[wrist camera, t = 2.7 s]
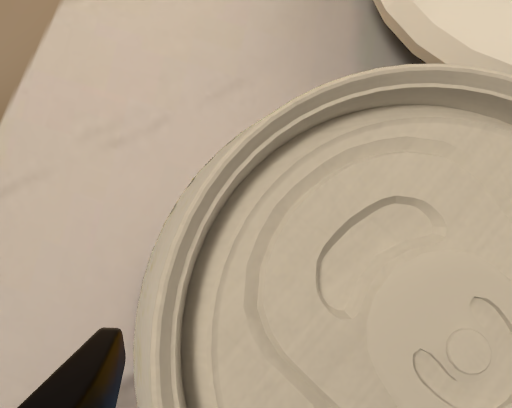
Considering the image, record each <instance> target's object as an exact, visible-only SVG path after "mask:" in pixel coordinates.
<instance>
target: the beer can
mask: <svg viewBox="0 0 512 408" xmlns="http://www.w3.org/2000/svg"><path fill="white" fill-rule="evenodd" d="M133 354H134V385H135V392H136V399H137V406H138V408H512V75H509V74H506V73H502V72H498V71H493V70H488V69H482V68H477V67H472V66H462V65H450V64H406V65H398V66H390V67H383V68H376V69H372V70H368V71H364V72H360V73H356V74H352V75H348V76H345V77H342V78H340V79H337V80H334V81H331V82H329V83H326V84H323V85H320V86H318V87H316V88H314V89H312V90H310V91H308V92H306V93H304V94H302V95H300V96H298V97H296V98H294V99H292V100H291V101H289V102H288V103H286V104H285V105H283V106H282V107H280V108H279V109H277V110H276V111H274V112H272V113H271V114H269V115H268V116H266V117H264V118H263V119H261V120H260V121H258V122H257V123H255V124H254V125H252V126H251V127H249V128H247V129H246V130H244V131H243V132H241V133H240V134H239V135H238V136H236V137H235V138H234V139H233V140H232V141H230V142H229V143H228V144H227V145H226V146H224V147H223V148H222V149H221V150H220V151H218V152H217V154H216V155H215V156H214V157H213V158H212V159H211V160H210V161H209V162H208V163H207V164H206V165H205V166H204V167H203V168H202V169H201V170H200V171H199V172H198V174H197V175H196V176H195V178H194V179H193V180H192V182H191V183H190V184H189V186H188V187H187V188H186V190H185V191H184V192H183V193H182V195H181V196H180V198H179V200H178V201H177V203H176V205H175V206H174V208H173V210H172V211H171V213H170V215H169V216H168V218H167V220H166V222H165V224H164V226H163V228H162V230H161V233H160V235H159V237H158V239H157V242H156V244H155V246H154V248H153V250H152V254H151V257H150V260H149V263H148V266H147V269H146V272H145V276H144V279H143V282H142V287H141V292H140V297H139V302H138V307H137V313H136V322H135V334H134V347H133Z"/></svg>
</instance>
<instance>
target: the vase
mask: <svg viewBox="0 0 512 408" xmlns="http://www.w3.org/2000/svg"><path fill="white" fill-rule="evenodd" d="M373 1H374V3H375V5H376V7H377V9H378V11H379V13H380V15H381V17H382V19H383V21H384V23H385V24H386V25H387V26H388V27H389V28H390V29H391V30H392V31H393V33H394V34H395V35H396V36H397V37H398V38H399V39H400V40H401V41H402V43H403V44H404V45H405V46H406V47H407V48H408V49H409V50H410V51H411V52H412V54H414V55H415V56H417V57H418V58H420V59H421V60H423V61H424V62H425V63H427V64H450V65H462V66H472V67H477V68H482V69H488V70H493V71H498V72H502V73H506V74H509V75H512V0H373Z"/></svg>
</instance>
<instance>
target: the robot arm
mask: <svg viewBox="0 0 512 408" xmlns="http://www.w3.org/2000/svg"><path fill="white" fill-rule="evenodd" d="M124 366H125V349H124V342H123V335H122V331H121V330H120V329H118V328H101V329H99V330H98V331H97V332H96V333H95V334H94V335H93V336H92V337H91V338H90V339H89V340H88V341H86V342H85V343H84V344H83V345H82V346H81V347H80V348H79V349H78V350H77V351H76V352H75V353H74V354H73V355H72V356H71V357H70V358H69V359H68V360H67V361H66V362H65V363H64V364H62V365H61V366H60V367H59V368H58V369H57V370H56V371H55V372H54V373H53V374H52V375H51V376H50V377H49V378H48V379H47V380H46V381H45V382H44V383H43V384H42V385H41V386H40V387H38V388H37V389H36V390H35V391H34V392H33V393H32V394H31V395H30V396H29V397H28V398H27V399H26V400H25V401H24V402H23V403H22V404H21V405H20V406H19V407H18V408H115V407H116V402H117V398H118V393H119V389H120V384H121V380H122V375H123V370H124Z"/></svg>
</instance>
